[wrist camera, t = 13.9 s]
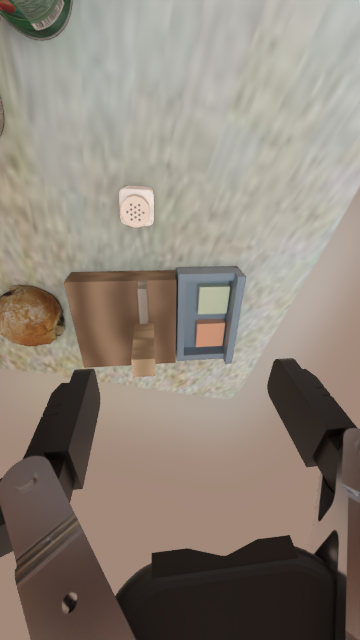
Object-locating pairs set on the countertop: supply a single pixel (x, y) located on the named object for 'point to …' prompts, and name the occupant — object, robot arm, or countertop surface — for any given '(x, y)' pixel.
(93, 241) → the countertop surface
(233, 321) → the tray
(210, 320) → the terracotta tile
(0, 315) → the bread roll
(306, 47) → the countertop surface
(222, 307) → the sage tile
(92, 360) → the board
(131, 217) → the pepper shaker
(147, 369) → the long tan wooden block
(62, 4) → the canned tomato
